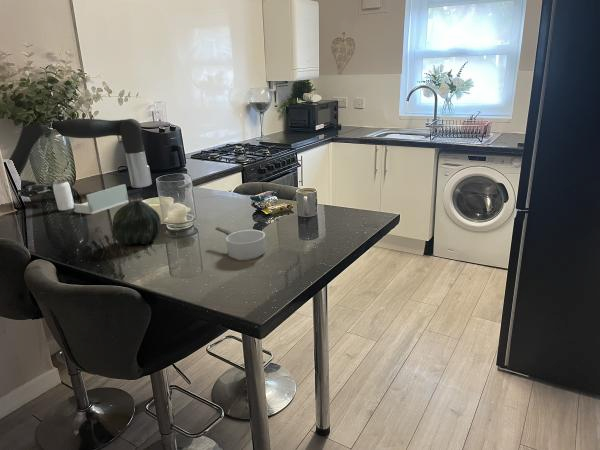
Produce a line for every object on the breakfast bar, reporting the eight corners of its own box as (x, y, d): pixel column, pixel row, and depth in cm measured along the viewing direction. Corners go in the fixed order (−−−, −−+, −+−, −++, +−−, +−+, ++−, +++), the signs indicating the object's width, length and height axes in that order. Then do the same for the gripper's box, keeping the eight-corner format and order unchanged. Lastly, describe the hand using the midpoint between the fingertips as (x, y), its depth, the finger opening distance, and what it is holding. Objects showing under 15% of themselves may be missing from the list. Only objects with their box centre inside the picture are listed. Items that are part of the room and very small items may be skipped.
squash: (112, 221, 153) (106, 195, 141) (158, 216, 158) (156, 190, 146) (116, 258, 147) (110, 234, 134) (164, 251, 152) (163, 227, 139)
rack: (112, 200, 206) (108, 183, 204) (128, 201, 201) (125, 184, 199) (74, 212, 191) (70, 193, 188) (91, 214, 185) (87, 195, 183)
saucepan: (234, 239, 145) (232, 222, 143) (275, 252, 131) (273, 234, 129) (203, 249, 138) (200, 232, 136) (243, 265, 124) (241, 246, 122)
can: (70, 210, 194) (63, 183, 190) (55, 211, 194) (48, 184, 190) (77, 206, 200) (71, 179, 196) (63, 207, 200) (56, 180, 197)
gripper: (7, 183, 201) (28, 186, 193) (37, 177, 212) (59, 178, 205) (11, 200, 203) (33, 203, 195) (41, 192, 215) (63, 195, 207)
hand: (46, 190), depth 200 cm, fingers open, 8 cm apart
